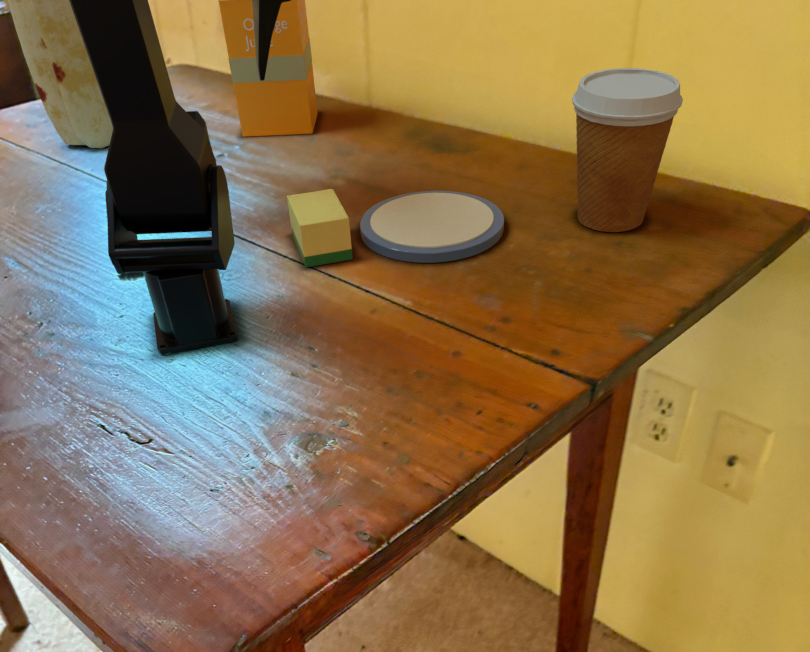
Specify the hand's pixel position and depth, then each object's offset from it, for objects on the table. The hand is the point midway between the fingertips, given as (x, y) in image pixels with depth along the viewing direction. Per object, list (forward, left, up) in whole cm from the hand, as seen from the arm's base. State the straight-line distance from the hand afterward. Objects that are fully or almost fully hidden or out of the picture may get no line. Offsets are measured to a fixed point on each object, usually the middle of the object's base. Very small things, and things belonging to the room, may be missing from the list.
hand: (212, 85), depth 75 cm
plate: (-11, -18, -12) cm, 24 cm away
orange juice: (+25, -9, -12) cm, 29 cm away
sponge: (-11, -7, -12) cm, 18 cm away
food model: (+28, +14, -12) cm, 34 cm away
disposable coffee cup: (-15, -35, -12) cm, 40 cm away
